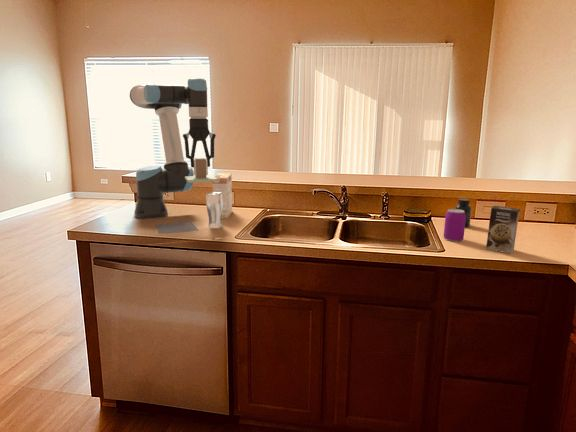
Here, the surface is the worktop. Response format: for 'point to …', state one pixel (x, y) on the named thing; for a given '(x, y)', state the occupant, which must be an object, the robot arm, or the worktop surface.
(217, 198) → the beer glass
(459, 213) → the beverage can
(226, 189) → the coffeecake box
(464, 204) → the supplement bottle
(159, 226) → the mat
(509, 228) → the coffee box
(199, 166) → the lid
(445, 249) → the worktop surface
